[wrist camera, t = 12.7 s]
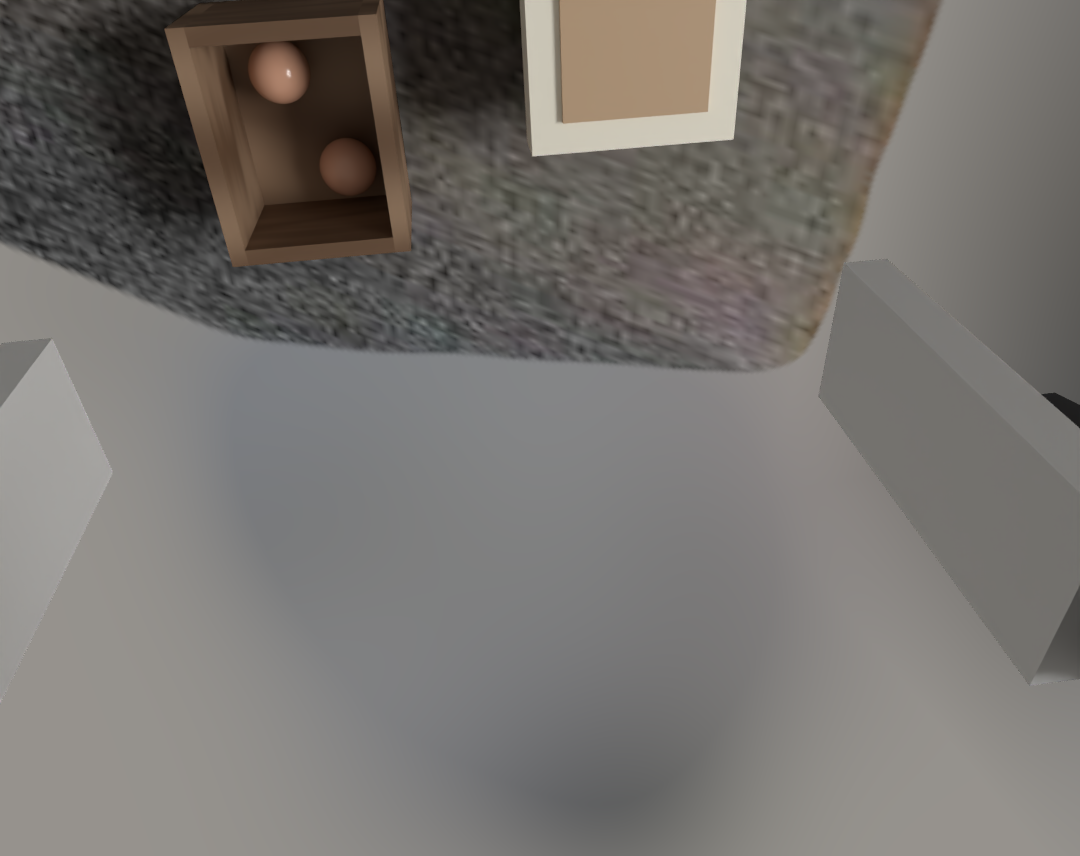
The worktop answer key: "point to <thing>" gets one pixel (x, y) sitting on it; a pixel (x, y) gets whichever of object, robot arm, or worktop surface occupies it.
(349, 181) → the ball
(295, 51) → the ball
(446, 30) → the worktop surface
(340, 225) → the box
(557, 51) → the lid
